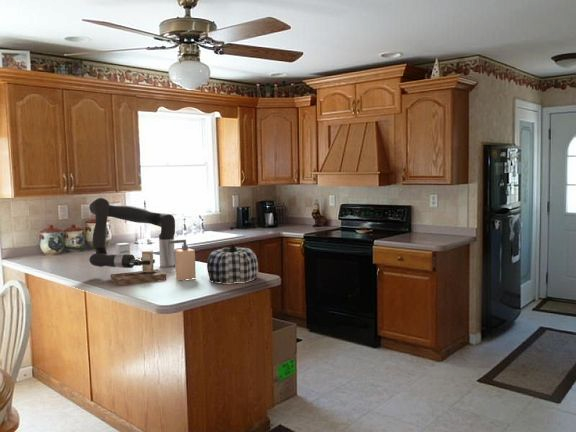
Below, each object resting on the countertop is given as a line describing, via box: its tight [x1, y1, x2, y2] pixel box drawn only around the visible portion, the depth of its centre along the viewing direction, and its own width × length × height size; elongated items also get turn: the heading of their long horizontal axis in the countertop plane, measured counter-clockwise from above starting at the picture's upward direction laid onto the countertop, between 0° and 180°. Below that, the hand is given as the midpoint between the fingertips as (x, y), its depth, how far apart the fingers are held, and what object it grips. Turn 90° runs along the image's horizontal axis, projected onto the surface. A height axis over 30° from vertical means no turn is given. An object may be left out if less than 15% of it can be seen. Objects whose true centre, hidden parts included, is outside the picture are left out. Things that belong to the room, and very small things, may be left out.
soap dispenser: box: [169, 239, 197, 281], centre depth 288 cm, size 13×9×22 cm
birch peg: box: [141, 250, 155, 274], centre depth 289 cm, size 5×5×16 cm
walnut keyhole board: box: [110, 268, 167, 287], centre depth 287 cm, size 26×16×4 cm, turn 122°
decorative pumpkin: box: [206, 244, 259, 283], centre depth 285 cm, size 30×29×20 cm
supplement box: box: [115, 242, 131, 255], centre depth 345 cm, size 7×7×13 cm
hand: (152, 262), depth 288 cm, fingers closed on birch peg, 4 cm apart
